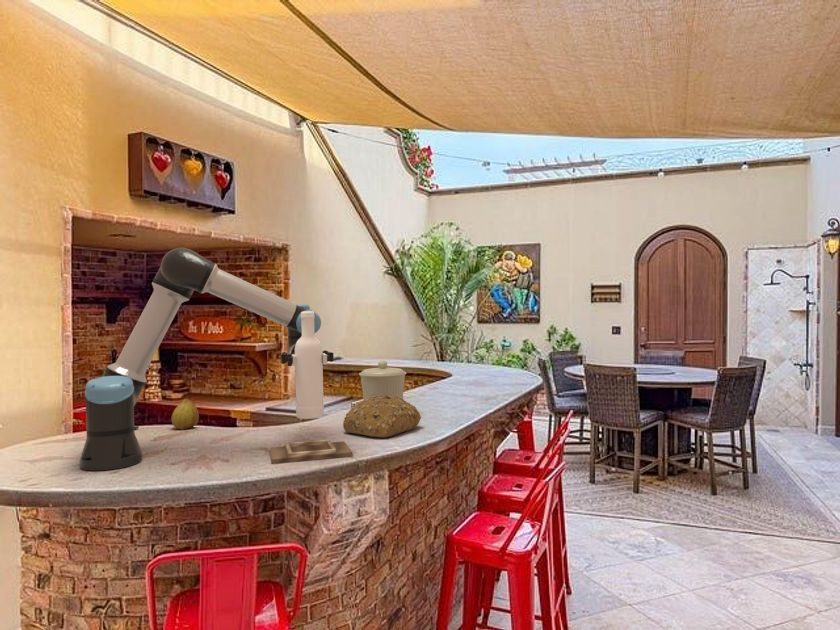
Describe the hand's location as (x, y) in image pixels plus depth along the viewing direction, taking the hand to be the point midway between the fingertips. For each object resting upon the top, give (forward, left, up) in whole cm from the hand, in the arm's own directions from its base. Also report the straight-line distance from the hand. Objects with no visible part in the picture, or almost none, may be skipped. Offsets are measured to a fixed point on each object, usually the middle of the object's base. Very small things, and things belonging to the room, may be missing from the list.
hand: (310, 360), depth 163 cm
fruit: (-38, +58, -27) cm, 75 cm away
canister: (+33, +54, -27) cm, 69 cm away
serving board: (0, +5, -27) cm, 28 cm away
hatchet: (-58, +53, -28) cm, 83 cm away
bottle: (0, +5, -17) cm, 17 cm away
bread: (+26, +28, -28) cm, 47 cm away
